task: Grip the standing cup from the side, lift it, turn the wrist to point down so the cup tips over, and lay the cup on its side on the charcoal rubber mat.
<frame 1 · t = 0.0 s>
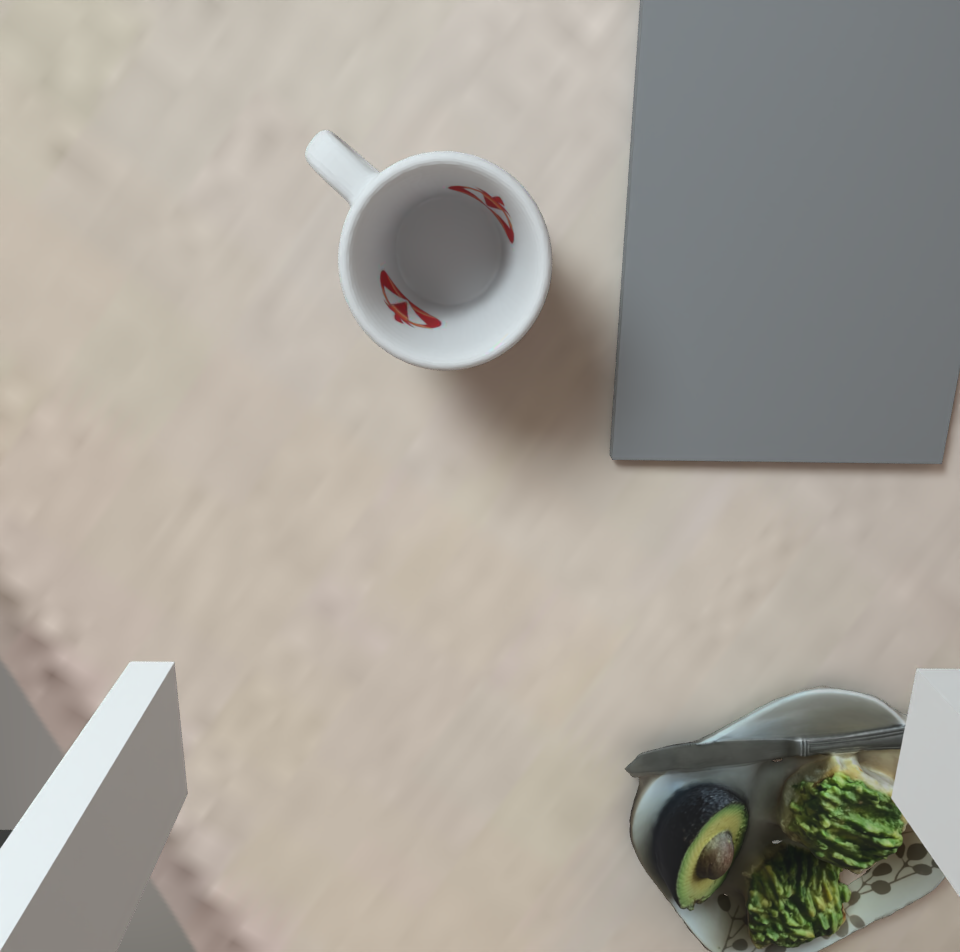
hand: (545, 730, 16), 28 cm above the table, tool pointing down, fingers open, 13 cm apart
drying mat: (800, 235, 40), on the table
cup: (425, 228, 40), on the table
avocado toast plate: (775, 812, 51), on the table
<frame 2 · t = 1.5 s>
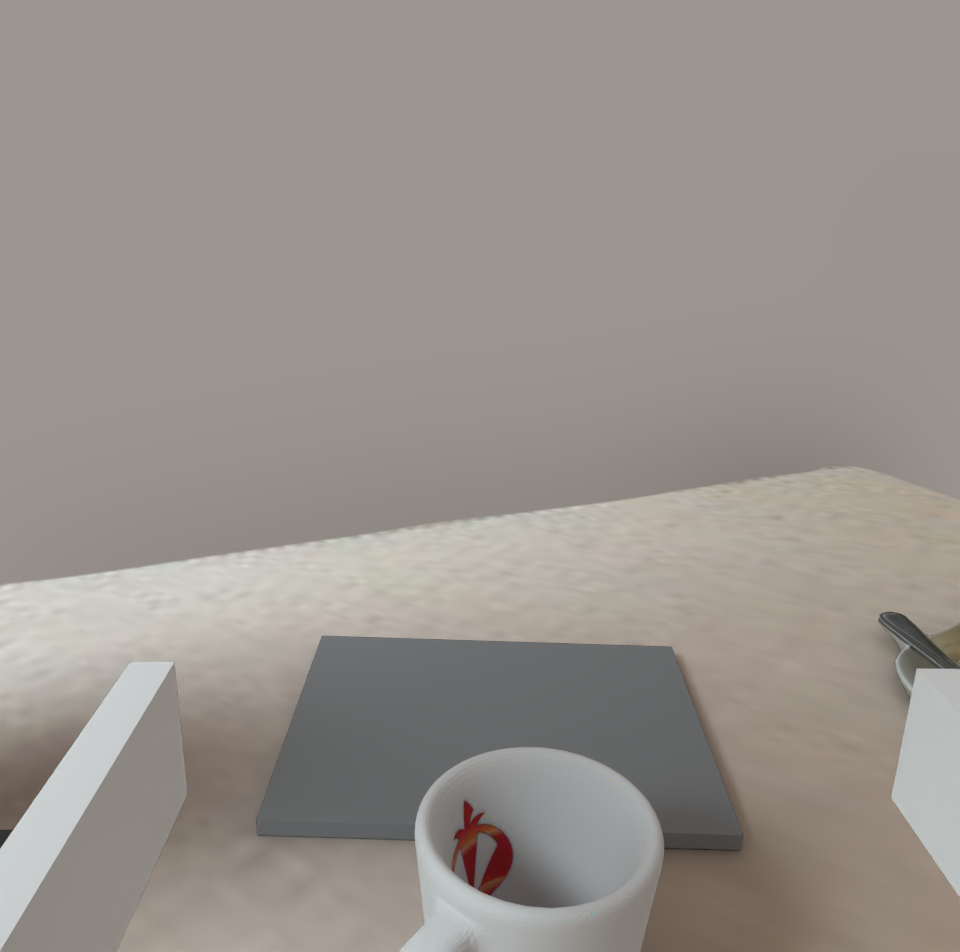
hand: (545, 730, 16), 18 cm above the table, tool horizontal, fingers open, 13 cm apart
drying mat: (497, 732, 46), on the table
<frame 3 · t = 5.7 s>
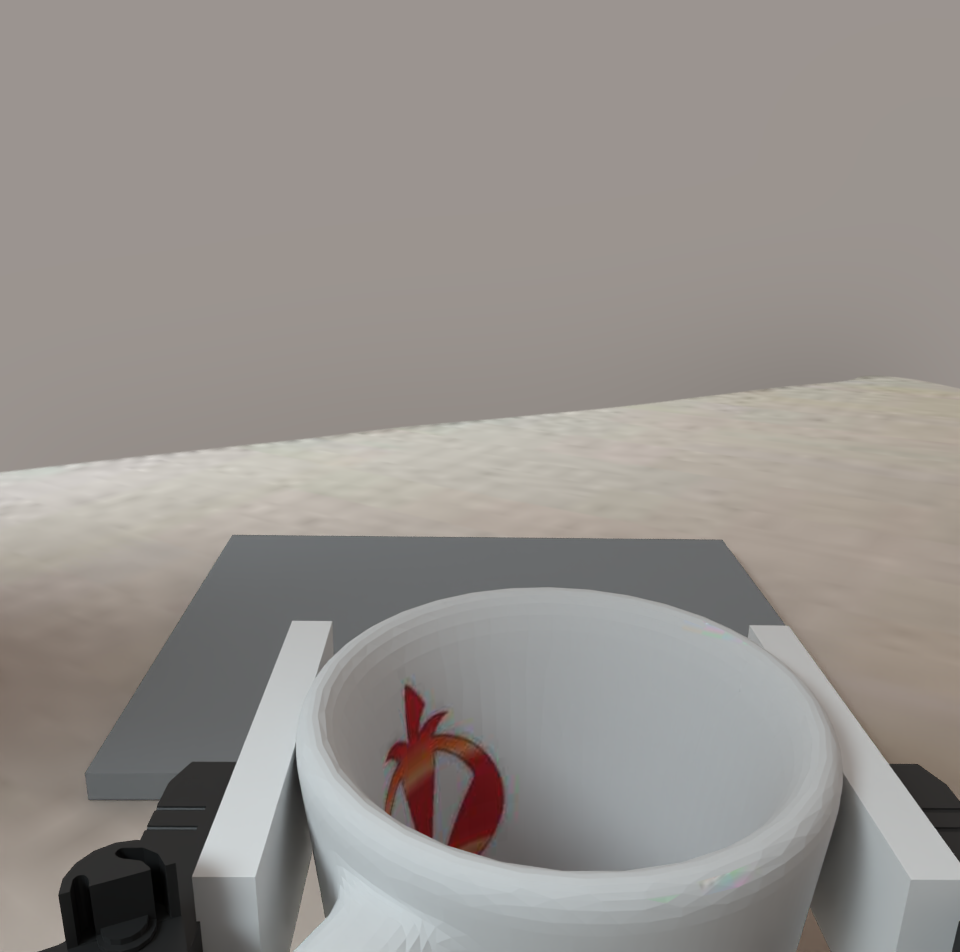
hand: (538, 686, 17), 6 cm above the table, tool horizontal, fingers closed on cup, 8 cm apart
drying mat: (485, 646, 31), on the table
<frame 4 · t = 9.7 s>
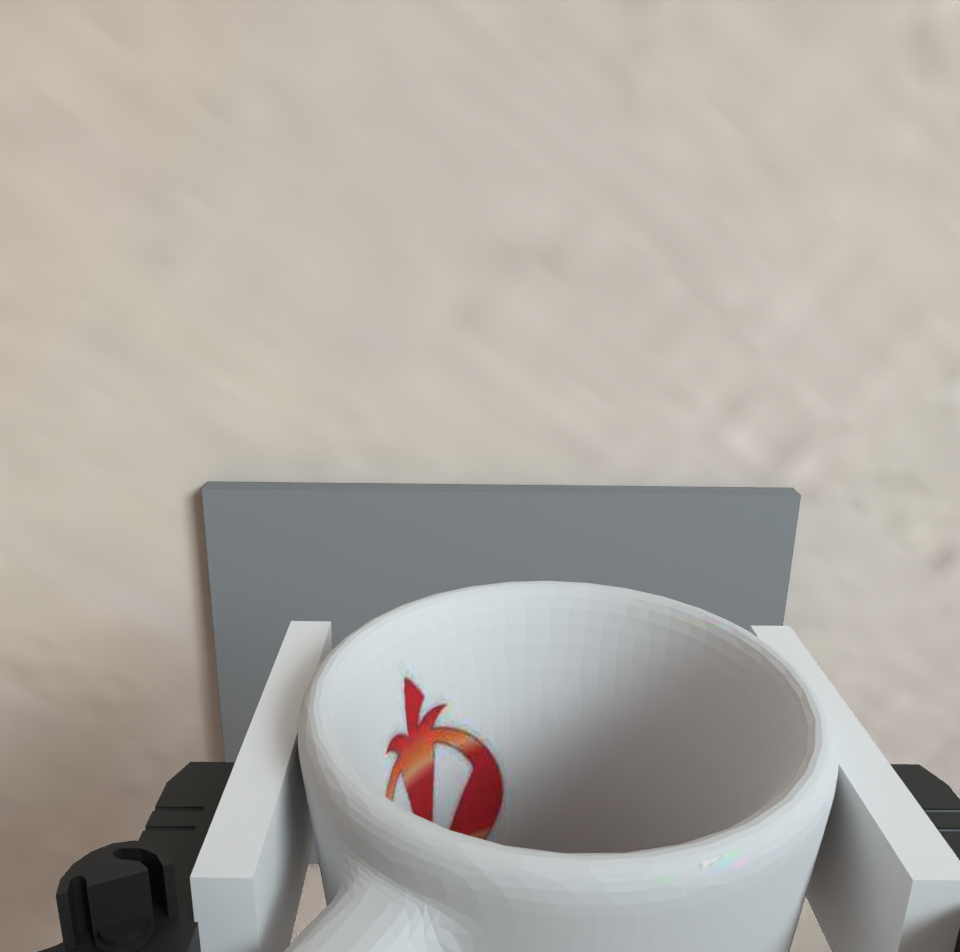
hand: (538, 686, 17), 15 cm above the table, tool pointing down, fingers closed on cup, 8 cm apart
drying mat: (497, 680, 35), on the table
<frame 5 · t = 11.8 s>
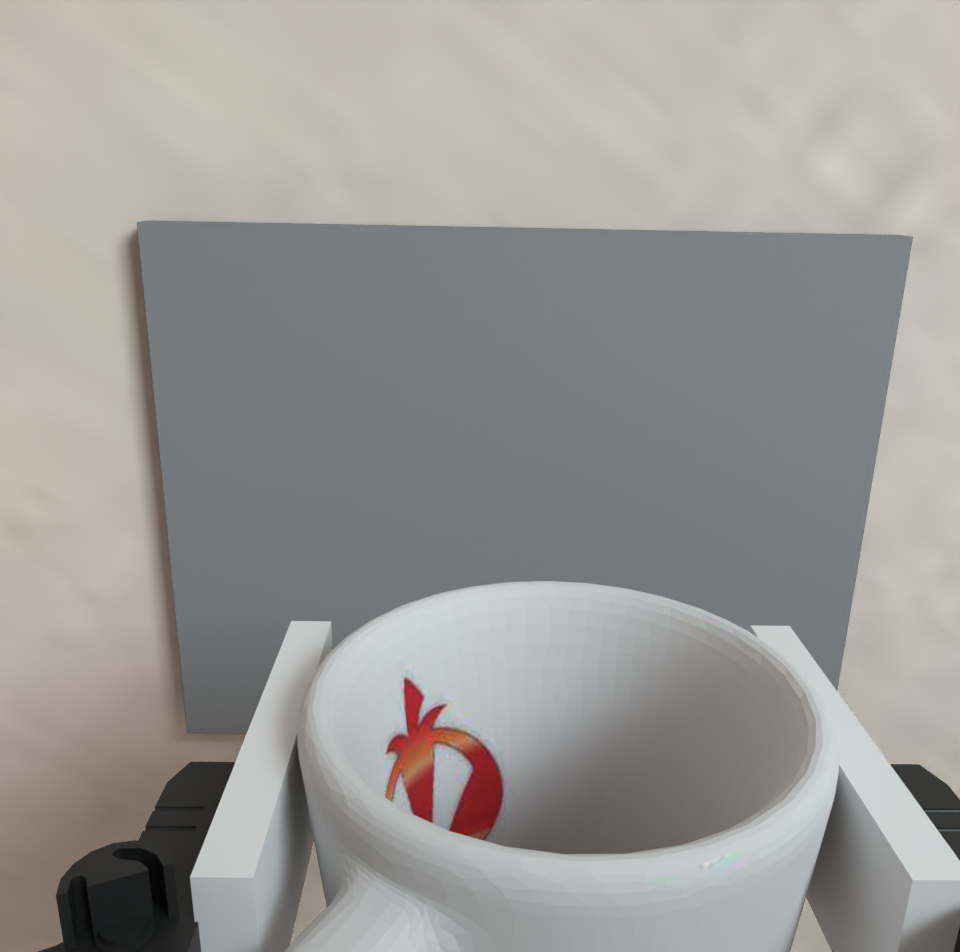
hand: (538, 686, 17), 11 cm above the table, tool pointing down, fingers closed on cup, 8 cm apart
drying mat: (516, 497, 27), on the table
when the fingers open (3 cm above the table, at t = 13.6 s): cup drops 2 cm, resting on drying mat.
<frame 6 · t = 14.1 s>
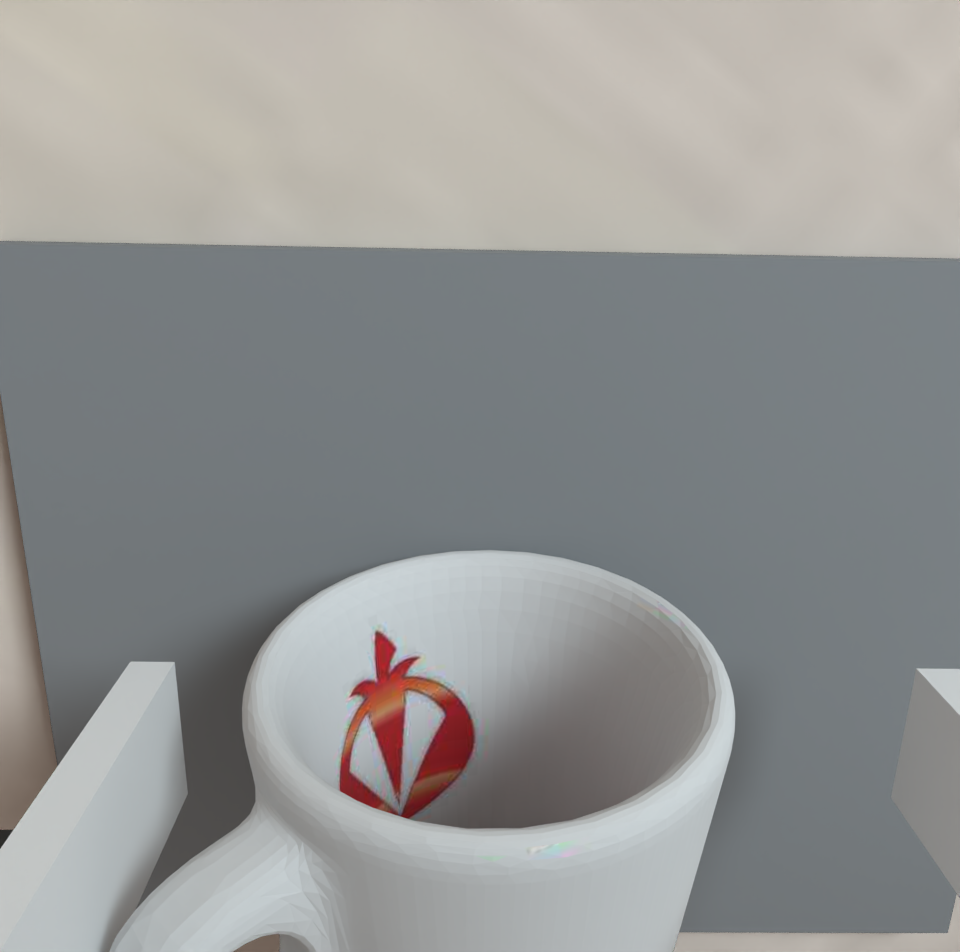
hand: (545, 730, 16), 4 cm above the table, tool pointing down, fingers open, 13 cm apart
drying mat: (529, 620, 20), on the table
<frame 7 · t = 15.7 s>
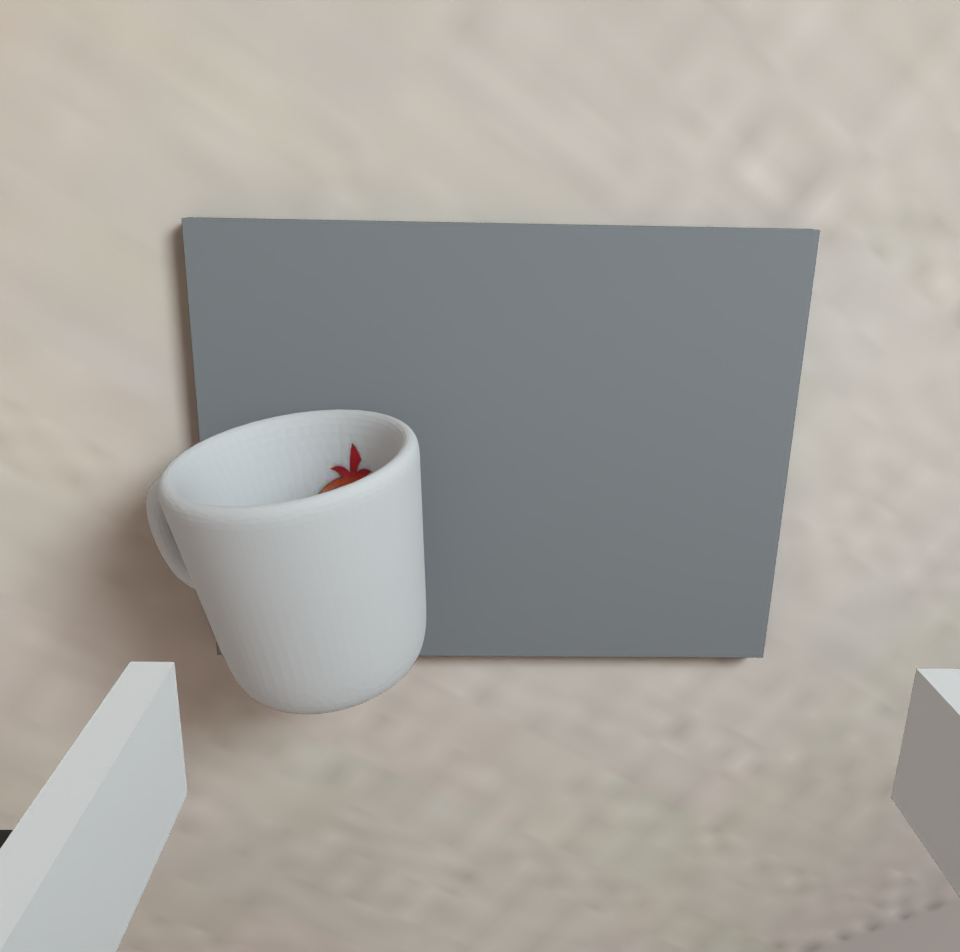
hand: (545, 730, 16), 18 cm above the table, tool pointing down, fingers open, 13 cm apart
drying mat: (496, 450, 33), on the table
cup: (303, 663, 31), point 3 cm above the table, touching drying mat
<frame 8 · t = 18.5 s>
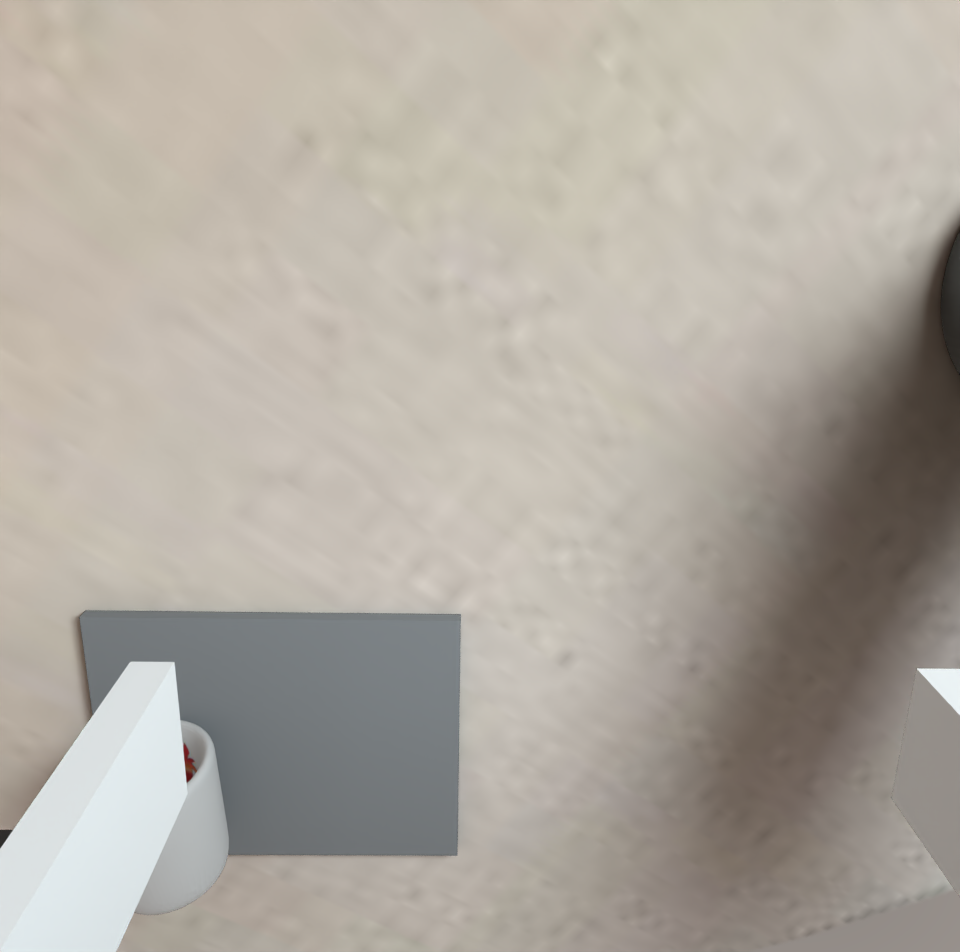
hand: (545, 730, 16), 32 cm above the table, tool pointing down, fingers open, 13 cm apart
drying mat: (281, 734, 53), on the table
cup: (158, 870, 52), point 3 cm above the table, touching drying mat
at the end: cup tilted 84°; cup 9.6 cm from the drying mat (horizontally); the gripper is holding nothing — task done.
